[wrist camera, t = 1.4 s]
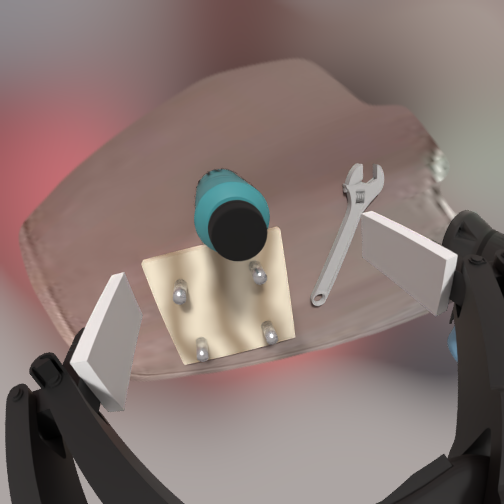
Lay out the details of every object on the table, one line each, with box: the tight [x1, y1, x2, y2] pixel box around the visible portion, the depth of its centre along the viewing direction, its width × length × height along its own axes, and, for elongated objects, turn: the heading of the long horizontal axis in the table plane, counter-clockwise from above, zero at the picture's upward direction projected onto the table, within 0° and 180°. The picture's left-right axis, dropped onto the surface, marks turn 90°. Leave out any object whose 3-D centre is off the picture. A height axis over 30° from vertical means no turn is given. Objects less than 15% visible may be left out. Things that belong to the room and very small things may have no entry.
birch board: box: [142, 227, 295, 365], centre depth 42 cm, size 20×20×2 cm
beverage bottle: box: [194, 168, 270, 261], centre depth 27 cm, size 6×7×20 cm
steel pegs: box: [173, 260, 278, 362], centre depth 40 cm, size 13×13×4 cm
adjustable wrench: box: [310, 164, 384, 306], centre depth 42 cm, size 25×6×2 cm, turn 157°
